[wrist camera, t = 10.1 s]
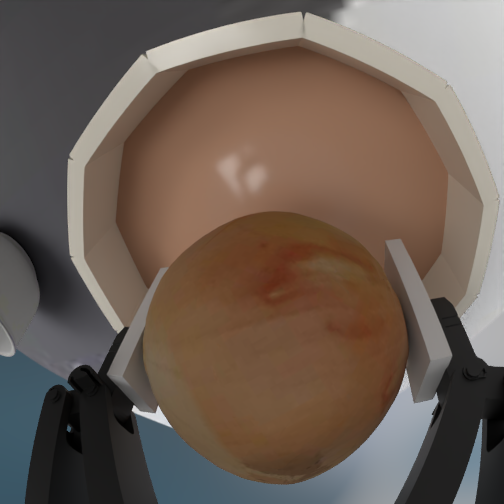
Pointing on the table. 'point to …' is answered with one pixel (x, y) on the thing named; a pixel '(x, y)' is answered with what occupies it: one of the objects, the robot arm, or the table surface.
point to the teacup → (15, 294)
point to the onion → (275, 346)
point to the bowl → (278, 156)
